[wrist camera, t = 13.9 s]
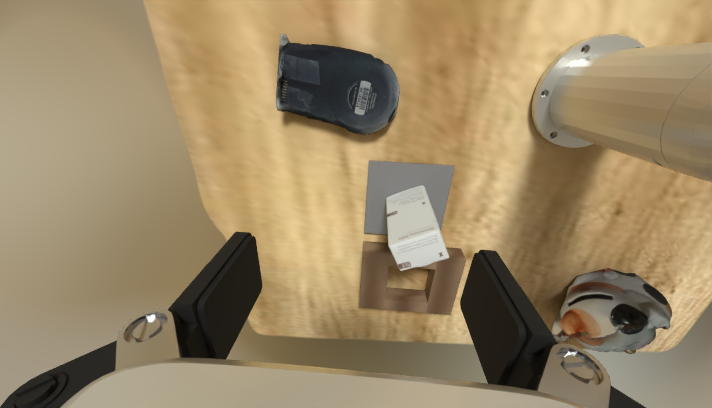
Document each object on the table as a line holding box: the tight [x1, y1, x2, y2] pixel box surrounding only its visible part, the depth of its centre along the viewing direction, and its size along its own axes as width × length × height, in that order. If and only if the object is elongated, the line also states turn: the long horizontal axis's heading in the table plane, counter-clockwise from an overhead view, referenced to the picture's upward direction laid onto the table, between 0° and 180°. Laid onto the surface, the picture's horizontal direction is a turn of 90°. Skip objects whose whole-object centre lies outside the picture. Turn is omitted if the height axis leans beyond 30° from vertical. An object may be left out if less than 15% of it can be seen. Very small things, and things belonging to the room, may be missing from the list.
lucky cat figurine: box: [552, 268, 672, 354], centre depth 41 cm, size 15×12×14 cm
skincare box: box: [386, 185, 449, 271], centre depth 35 cm, size 6×4×12 cm
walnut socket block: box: [359, 241, 466, 315], centre depth 46 cm, size 16×12×3 cm
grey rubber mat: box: [364, 160, 454, 235], centre depth 41 cm, size 12×12×1 cm
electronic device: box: [276, 33, 400, 135], centre depth 33 cm, size 9×6×15 cm
